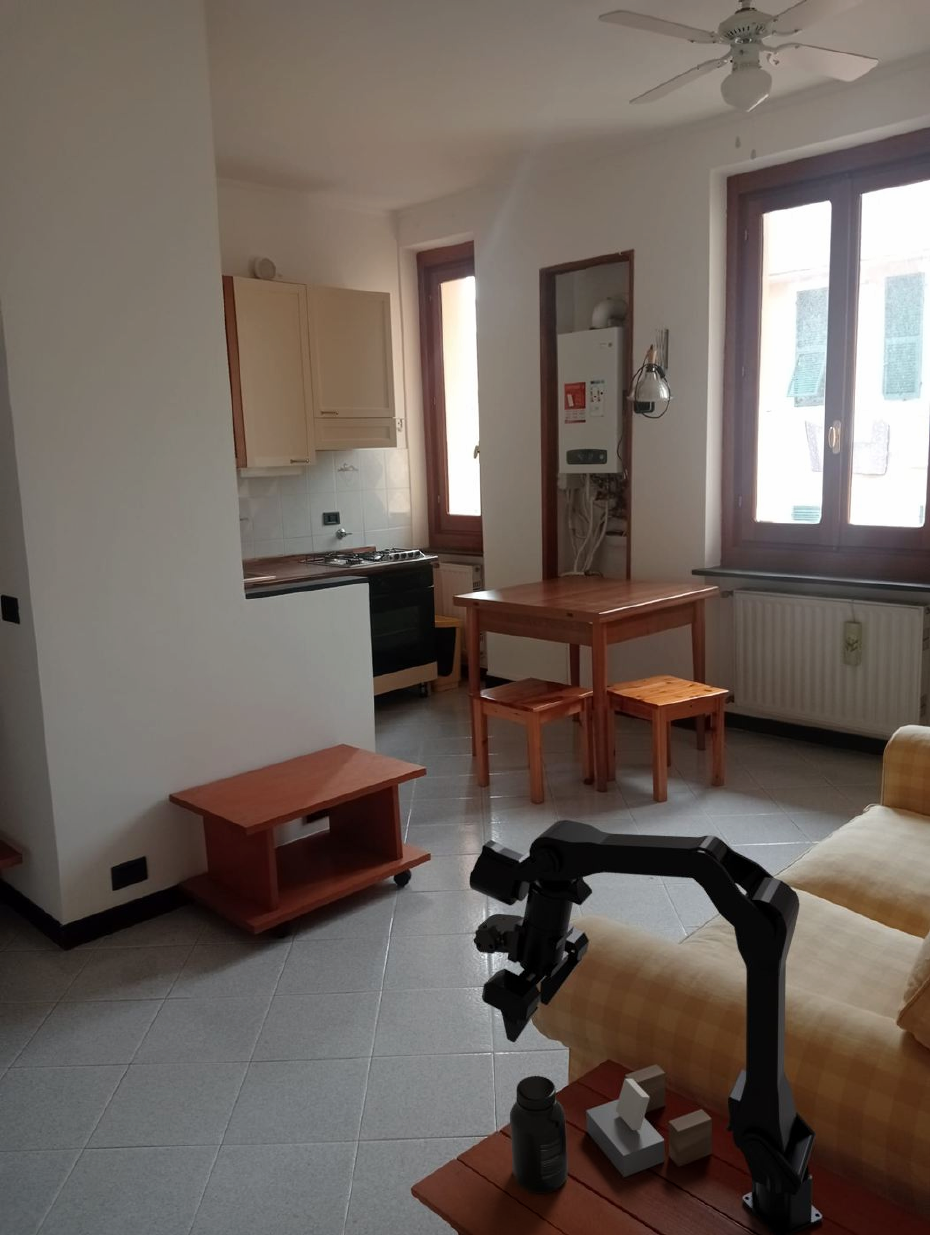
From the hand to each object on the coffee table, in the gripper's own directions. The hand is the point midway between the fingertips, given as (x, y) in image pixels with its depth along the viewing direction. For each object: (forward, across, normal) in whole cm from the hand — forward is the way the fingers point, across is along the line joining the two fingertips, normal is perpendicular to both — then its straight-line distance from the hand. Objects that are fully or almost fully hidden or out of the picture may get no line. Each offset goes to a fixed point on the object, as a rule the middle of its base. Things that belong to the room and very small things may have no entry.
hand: (528, 1021), depth 124 cm
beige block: (+11, -4, +23) cm, 26 cm away
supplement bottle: (+14, +7, +8) cm, 18 cm away
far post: (+12, -10, +15) cm, 22 cm away
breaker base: (+12, -2, +15) cm, 20 cm away
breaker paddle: (+9, -2, +15) cm, 17 cm away
